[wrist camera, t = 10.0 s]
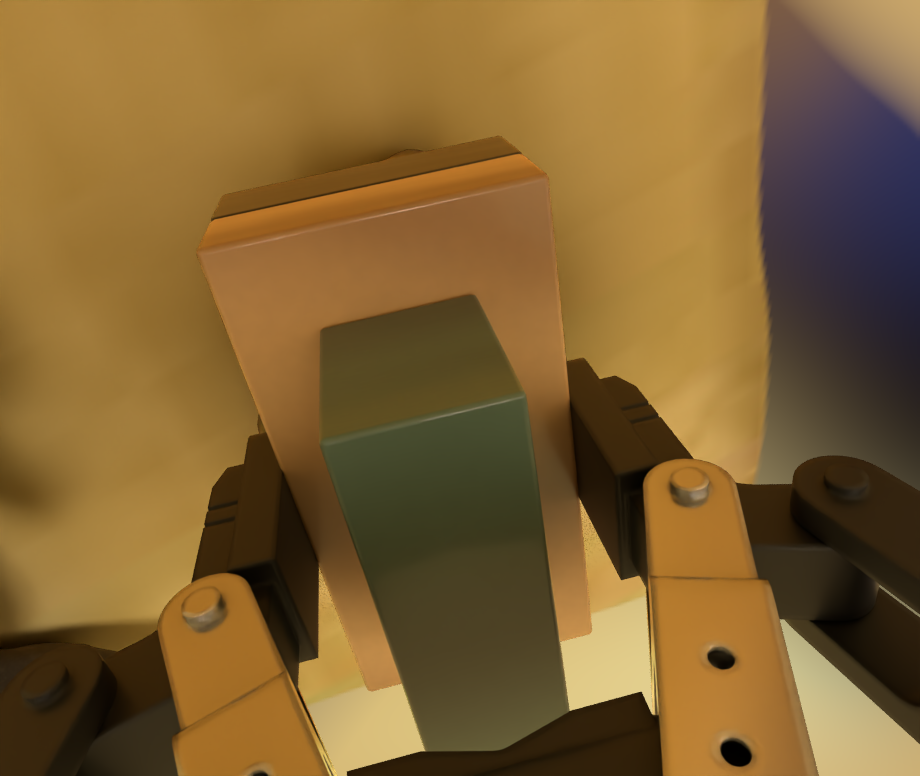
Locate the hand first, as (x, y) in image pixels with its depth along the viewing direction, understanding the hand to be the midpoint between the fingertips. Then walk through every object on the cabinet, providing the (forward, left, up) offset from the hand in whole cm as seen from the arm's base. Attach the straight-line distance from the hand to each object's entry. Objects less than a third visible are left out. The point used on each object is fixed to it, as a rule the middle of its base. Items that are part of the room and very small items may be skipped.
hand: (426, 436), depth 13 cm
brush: (0, 0, -1) cm, 1 cm away
